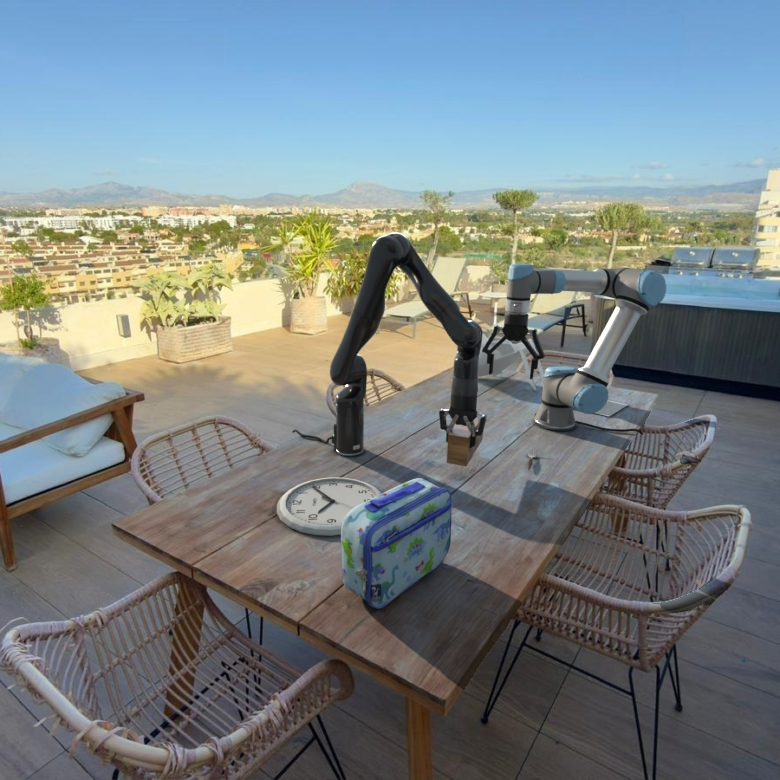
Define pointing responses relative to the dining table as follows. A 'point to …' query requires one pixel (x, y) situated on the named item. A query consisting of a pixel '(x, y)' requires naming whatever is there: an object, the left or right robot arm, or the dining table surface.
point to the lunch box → (395, 540)
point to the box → (462, 444)
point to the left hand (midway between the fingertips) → (460, 445)
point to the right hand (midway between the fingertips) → (510, 375)
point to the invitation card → (611, 408)
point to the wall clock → (323, 504)
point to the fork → (531, 457)
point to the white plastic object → (506, 358)
